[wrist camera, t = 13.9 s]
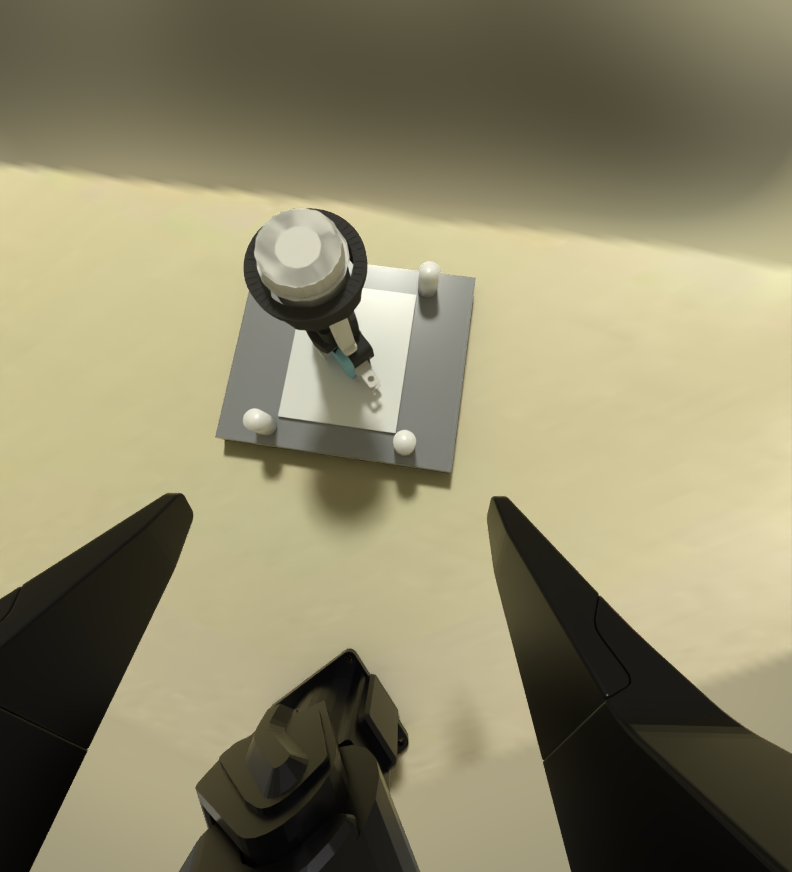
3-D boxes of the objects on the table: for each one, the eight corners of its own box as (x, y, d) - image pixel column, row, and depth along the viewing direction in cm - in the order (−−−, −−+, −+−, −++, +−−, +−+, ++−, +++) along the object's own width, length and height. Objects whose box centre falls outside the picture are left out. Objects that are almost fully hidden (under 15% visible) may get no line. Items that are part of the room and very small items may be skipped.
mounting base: (449, 472, 24) (456, 470, 20) (224, 439, 24) (197, 432, 21) (472, 287, 26) (481, 259, 22) (264, 261, 26) (246, 230, 23)
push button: (407, 368, 23) (411, 281, 13) (344, 415, 23) (300, 360, 13) (349, 298, 24) (313, 166, 14) (288, 341, 24) (206, 237, 14)
